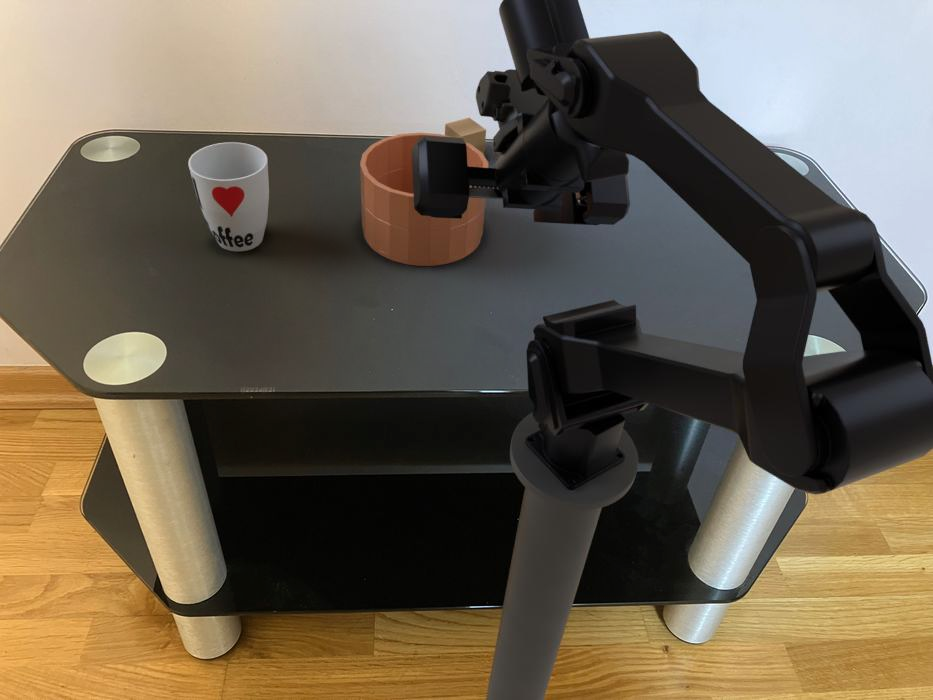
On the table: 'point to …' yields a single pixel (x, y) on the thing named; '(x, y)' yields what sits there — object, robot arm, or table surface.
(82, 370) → the table surface
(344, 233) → the table surface
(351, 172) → the table surface
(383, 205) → the bowl
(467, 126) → the block
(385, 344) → the table surface
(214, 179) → the cup
